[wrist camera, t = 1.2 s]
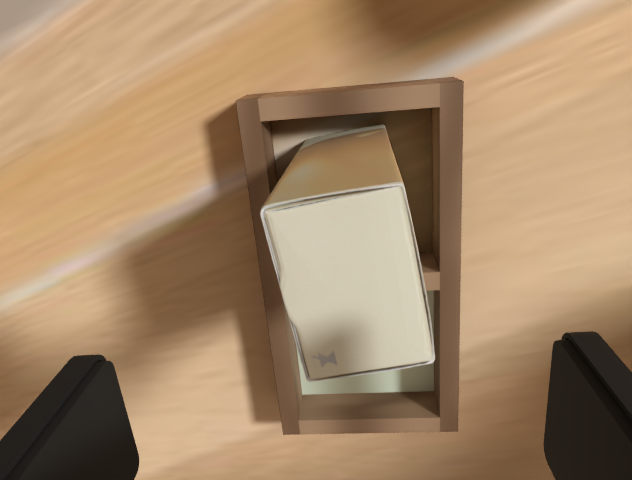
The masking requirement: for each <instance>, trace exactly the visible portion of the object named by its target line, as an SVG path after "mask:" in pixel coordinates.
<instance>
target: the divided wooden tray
mask: <svg viewBox="0 0 632 480" xmlns="http://www.w3.org/2000/svg"><path fill="white" fill-rule="evenodd" d="M463 83H464V81H462V80H459V79H457V78H454V77H449V78H437V79H426V80H414V81H403V82H391V83H379V84H368V85H356V86H345V87H333V88H322V89H310V90H298V91H287V92H275V93H264V94H252V95H246V96H244V97H242V98H240V99H238V100H236V106H237V113H238V120H239V127H240V134H241V141H242V148H243V155H244V162H245V169H246V176H247V183H248V190H249V197H250V204H251V211H252V218H253V225H254V232H255V239H256V246H257V253H258V261H259V268H260V275H261V282H262V289H263V296H264V303H265V310H266V317H267V324H268V331H269V338H270V345H271V352H272V359H273V366H274V373H275V380H276V387H277V394H278V401H279V408H280V415H281V422H282V429H283V435H289V434H344V433H399V432H454V431H458V397H459V334H460V271H461V209H462V146H463ZM421 108H432V210H433V252H431V253H419V256H420V261H421V266H422V272H423V277H424V282H425V287H426V293H427V299H428V305H429V311H430V318H431V325H432V334H433V342H434V352H435V360H434V362H433V363H431V364H427V365H420V366H414V367H410V368H406V369H400V370H394V371H387V372H381V373H373V374H365V375H359V376H352V377H344V378H338V379H327V380H322V381H315V382H309V381H307V379H306V377H305V373H304V369H303V366H302V363H301V359H300V356H299V352H298V349H297V345H296V342H295V338H294V335H293V331H292V328H291V324H290V321H289V317H288V314H287V311H286V308H285V304H284V301H283V297H282V293H281V290H280V287H279V283H278V278H277V274H276V271H275V268H274V264H273V261H272V257H271V253H270V250H269V246H268V242H267V239H266V235H265V231H264V227H263V223H262V220H261V217H260V211H261V208H262V206H263V205H264V203H265V202H266V200H267V199H268V197H269V195H270V194H271V193H272V191H273V189H274V188H275V186H276V185H277V175H276V166H275V158H274V150H273V141H272V133H271V125H270V121H273V120H285V119H298V118H310V117H322V116H335V115H347V114H359V113H372V112H384V111H396V110H409V109H421Z"/></svg>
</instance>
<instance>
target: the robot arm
mask: <svg viewBox="0 0 632 480" xmlns="http://www.w3.org/2000/svg"><path fill="white" fill-rule="evenodd" d="M544 452H545V456H546V460H547V462H548V465H549V467H550V469H551V471H552V473H553V475H554V477H555V479H556V480H632V372H631V371H630V370H629V369H628V368H627V366H626V365H625V364H624V363H623V362H622V361H621V359H620V358H619V357H618V356H617V355H616V354H615V353H614V351H613V350H612V349H611V348H610V347H609V346H608V344H607V343H606V342H605V341H604V340H603V339H602V337H601V336H600V335H599V334H598V333H596V332H572V333H565V334H563V336H562V340H556V341H555V342H554V344H553V351H552V361H551V372H550V382H549V393H548V404H547V414H546V425H545V435H544ZM138 467H139V455H138V451H137V447H136V444H135V440H134V437H133V433H132V429H131V426H130V422H129V419H128V415H127V411H126V408H125V404H124V401H123V397H122V394H121V390H120V386H119V383H118V379H117V376H116V372H115V368H114V366H113V363H112V362H110V361H106V359H105V358H104V356H102V355H82V356H74V357H72V358H71V359H70V360H69V361H68V362H67V364H66V365H65V366H64V367H63V368H62V369H61V371H60V372H59V373H58V374H57V375H56V376H55V378H54V379H53V380H52V381H51V382H50V383H49V385H48V386H47V387H46V388H45V389H44V390H43V392H42V393H41V394H40V395H39V396H38V397H37V399H36V400H35V401H34V402H33V403H32V404H31V406H30V407H29V408H28V409H27V410H26V411H25V413H24V414H23V415H22V416H21V417H20V418H19V420H18V421H17V422H16V423H15V424H14V425H13V427H12V428H11V429H10V430H9V431H8V432H7V434H6V435H5V436H4V437H3V438H2V439H1V441H0V480H134V478H135V476H136V474H137V471H138Z"/></svg>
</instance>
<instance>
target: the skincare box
mask: <svg viewBox="0 0 632 480" xmlns="http://www.w3.org/2000/svg"><path fill="white" fill-rule="evenodd" d="M260 217H261V220H262V223H263V227H264V231H265V235H266V239H267V242H268V246H269V250H270V253H271V257H272V261H273V264H274V268H275V271H276V274H277V278H278V283H279V287H280V290H281V293H282V297H283V301H284V304H285V308H286V311H287V314H288V317H289V321H290V324H291V328H292V331H293V335H294V338H295V342H296V345H297V349H298V352H299V356H300V359H301V363H302V366H303V369H304V373H305V377H306V379H307V381H309V382H315V381H322V380H327V379H338V378H344V377H352V376H359V375H365V374H373V373H381V372H387V371H394V370H400V369H406V368H410V367H414V366H420V365H427V364H431V363H433V362H434V360H435V352H434V342H433V334H432V325H431V318H430V311H429V305H428V299H427V293H426V287H425V282H424V277H423V272H422V266H421V261H420V256H419V251H418V246H417V242H416V237H415V232H414V227H413V222H412V218H411V213H410V209H409V205H408V200H407V195H406V191H405V187H404V183H403V181H402V177H401V174H400V171H399V168H398V165H397V162H396V159H395V156H394V153H393V150H392V147H391V144H390V141H389V138H388V134H387V131H386V128H385V125H384V124H379V125H374V126H368V127H362V128H357V129H352V130H347V131H342V132H337V133H332V134H328V135H323V136H319V137H314V138H310V139H307V140H305V141H304V142H303V144H302V146H301V147H300V149H299V150H298V152H297V153H296V155H295V156H294V158H293V160H292V161H291V163H290V164H289V166H288V167H287V169H286V171H285V172H284V174H283V175H282V177H281V178H280V180H279V182H278V183H277V185H276V186H275V188H274V189H273V191H272V193H271V194H270V195H269V197H268V199H267V200H266V202H265V203H264V205H263V206H262V208H261V211H260Z"/></svg>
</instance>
